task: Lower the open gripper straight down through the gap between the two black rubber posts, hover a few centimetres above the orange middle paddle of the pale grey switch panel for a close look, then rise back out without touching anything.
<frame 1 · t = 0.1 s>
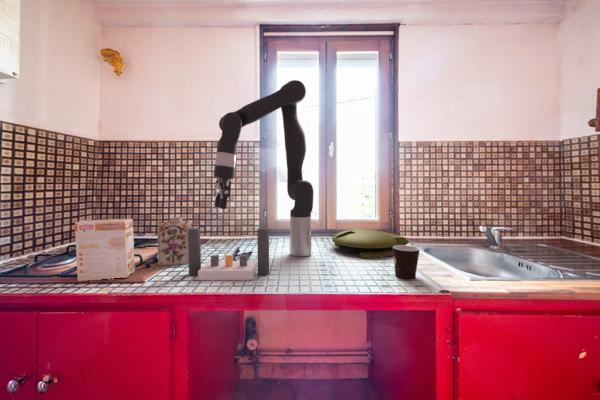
hand: (220, 207, 108), 23 cm above the worktop, tool pointing down, fingers open, 8 cm apart
post 2: (263, 273, 100), on the worktop
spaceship: (367, 250, 138), on the worktop
middle paddle: (229, 260, 100), point 5 cm above the worktop, hinge at 0.0°
coffee mug: (406, 276, 99), on the worktop
switch panel: (229, 273, 100), on the worktop
decorative jar: (177, 261, 116), on the worktop
sunglasses: (242, 260, 120), on the worktop
coffeecake box: (107, 277, 97), on the worktop
post 1: (195, 274, 100), on the worktop
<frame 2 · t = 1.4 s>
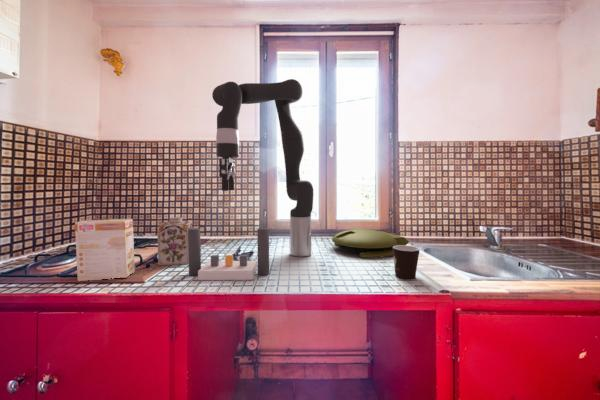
hand: (228, 190, 98), 30 cm above the worktop, tool pointing down, fingers open, 8 cm apart
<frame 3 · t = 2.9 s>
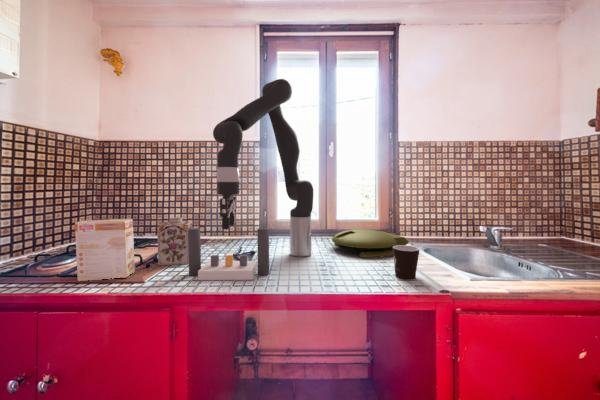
hand: (228, 227, 99), 17 cm above the worktop, tool pointing down, fingers open, 8 cm apart
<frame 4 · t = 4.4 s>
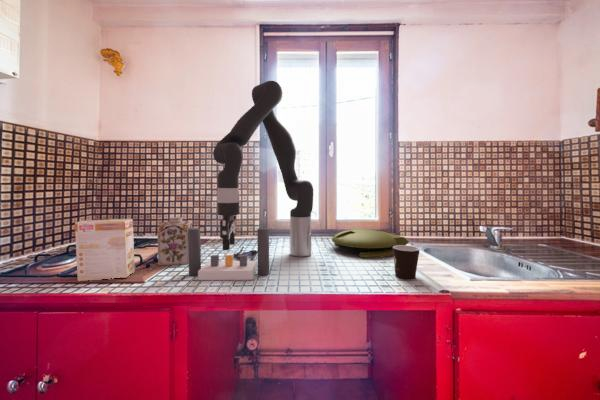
hand: (229, 247, 99), 10 cm above the worktop, tool pointing down, fingers open, 8 cm apart
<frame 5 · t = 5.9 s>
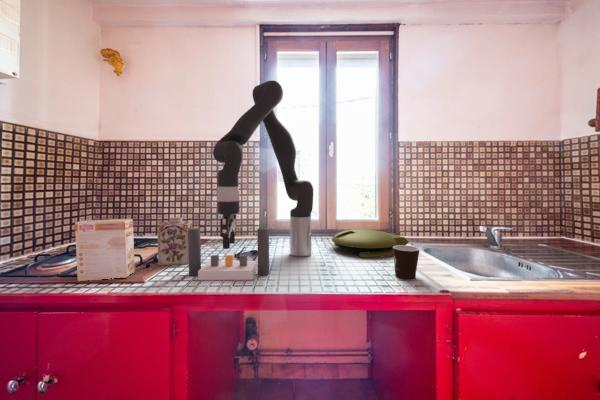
hand: (229, 245, 99), 10 cm above the worktop, tool pointing down, fingers open, 8 cm apart
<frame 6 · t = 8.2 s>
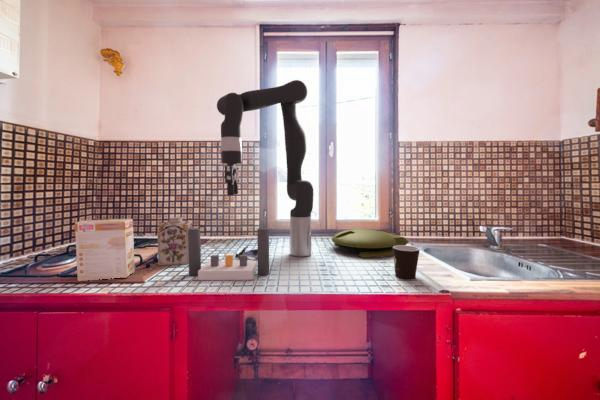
hand: (232, 194, 105), 28 cm above the worktop, tool pointing down, fingers open, 8 cm apart
sunglasses: (249, 258, 122), on the worktop
everything else where it was.
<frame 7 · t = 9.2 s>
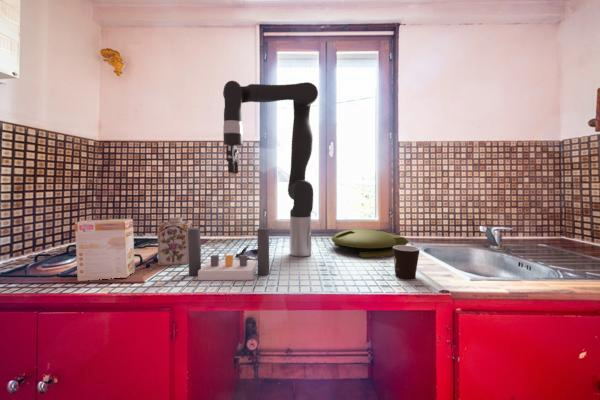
hand: (233, 173, 117), 36 cm above the worktop, tool pointing down, fingers open, 8 cm apart
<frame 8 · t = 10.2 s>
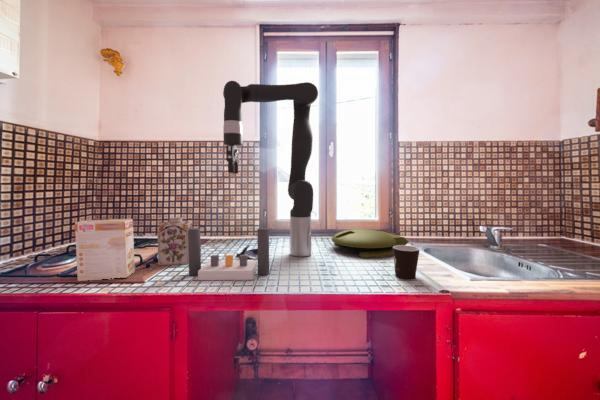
hand: (233, 173, 117), 36 cm above the worktop, tool pointing down, fingers open, 8 cm apart
at the end: post 2 moved 0.0 cm from its start; post 1 moved 0.0 cm from its start; middle paddle at +0° (first picture: +0°) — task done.
